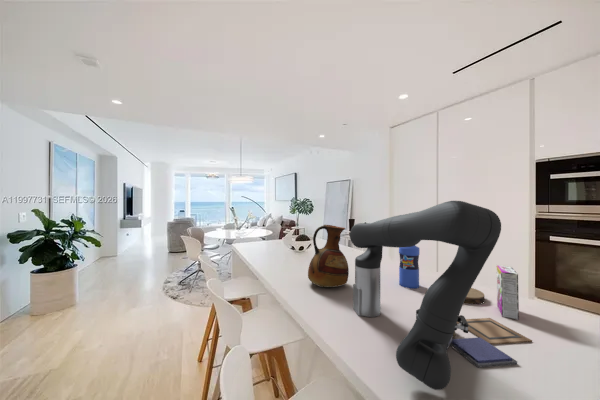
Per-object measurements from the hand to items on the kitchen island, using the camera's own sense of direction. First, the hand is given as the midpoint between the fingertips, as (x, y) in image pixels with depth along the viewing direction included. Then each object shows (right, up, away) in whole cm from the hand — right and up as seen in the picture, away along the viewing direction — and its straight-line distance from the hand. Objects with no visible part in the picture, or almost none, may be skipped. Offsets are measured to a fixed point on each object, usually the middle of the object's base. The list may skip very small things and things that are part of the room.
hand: (445, 309), depth 79 cm
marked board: (+13, -6, -1) cm, 15 cm away
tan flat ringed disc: (+23, -7, +27) cm, 36 cm away
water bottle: (+7, -7, +41) cm, 42 cm away
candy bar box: (+30, -7, +11) cm, 33 cm away
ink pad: (+2, -6, -13) cm, 14 cm away
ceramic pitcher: (-34, -6, +42) cm, 54 cm away
